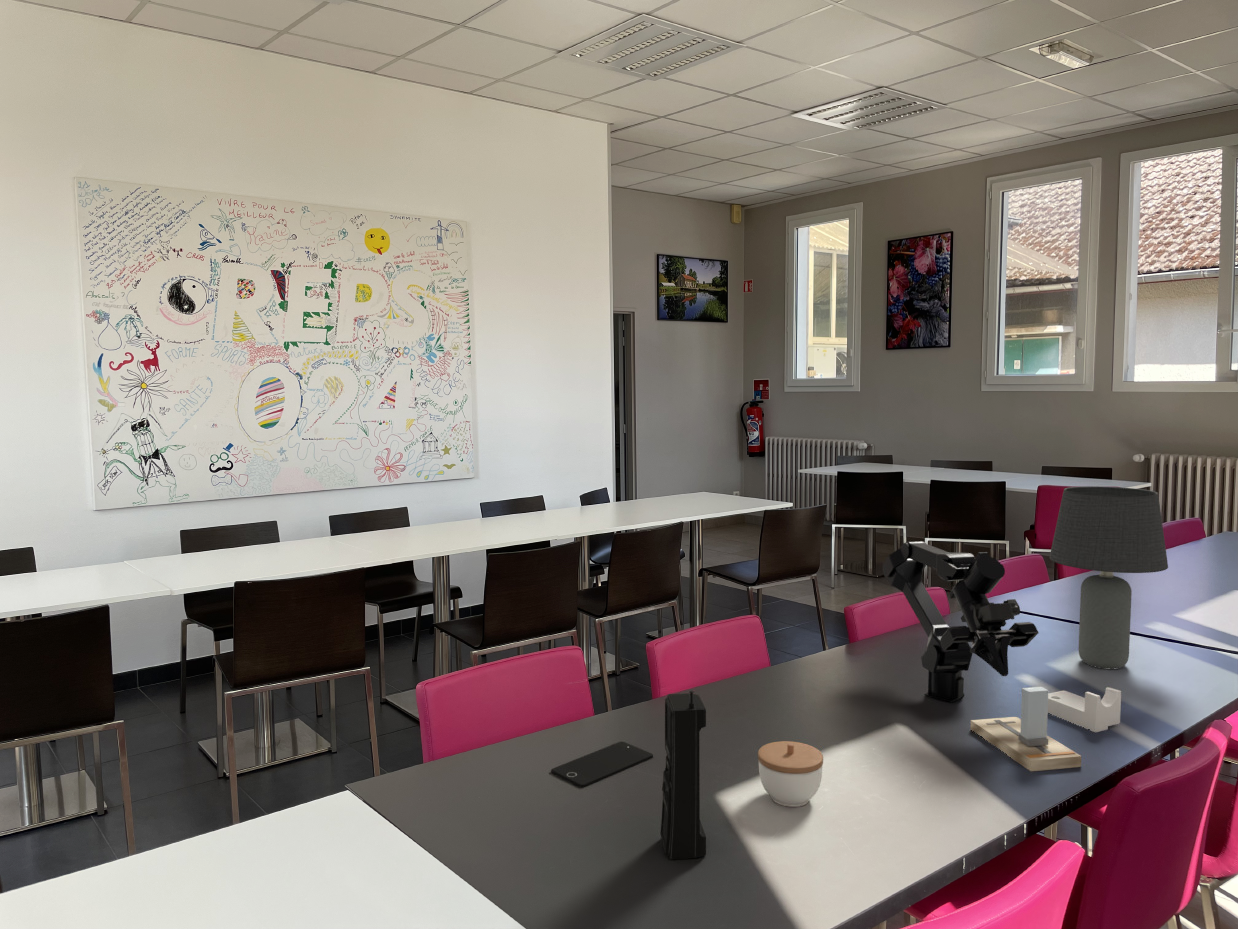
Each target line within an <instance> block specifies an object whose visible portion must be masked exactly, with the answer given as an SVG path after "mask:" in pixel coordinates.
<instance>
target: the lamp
mask: <svg viewBox="0 0 1238 929" xmlns="http://www.w3.org/2000/svg"><path fill="white" fill-rule="evenodd" d="M1159 497H1160V496H1159V492H1157V491H1154V490H1149V489H1143V488H1142V489H1141V488H1134V487H1119V486H1118V487H1117V486H1099V485H1097V486H1096V485H1095V486H1090V485H1089V486H1087V485H1086V486H1070V487H1066V488H1064V489H1063V492H1062V497H1061V501H1060V506H1059V511H1058V514H1057V515H1058V516H1057V520H1056V526H1055V530H1054V535H1053V539H1052V544H1051V549H1050V553H1049V559H1050V561H1051V562H1053V563H1055V564H1058V565H1061V566H1062V565H1063V566H1065V567H1070V568H1075V569H1080V570H1087V571H1088V570H1089V571H1096V572H1099V574H1093V575H1088V576H1087V577H1086V578H1084V579H1083V581H1082V582H1081V586H1080V596H1079V597H1080V601H1079V622H1078V623H1079V625H1078V627H1079V629H1078V654H1079V658H1080V659H1081V660H1082V661H1083V663H1085V664H1086V663H1087V664H1086V665H1088V664H1089V665H1088V666H1090V665H1092V666H1091V667H1093V666H1096V667H1095V668H1097V667H1100V668H1099V669H1103V668H1110V669H1109V670H1115V669H1114V668H1118V669H1121V668H1123V667H1124V666H1125V665H1126V664H1127V663H1128V661H1129V657H1130V638H1131V618H1132V617H1131V616H1132V615H1131V614H1132V613H1131V612H1132V595H1133V593H1132V587H1131V584H1130V583H1129V582H1128V581H1127V580H1125V579H1123V578H1122V577H1119V576H1115V575H1114V573H1119V574H1120V573H1121V574H1122V573H1123V574H1145V573H1146V574H1149V573H1151V574H1152V573H1157V572H1163V571H1166V570H1167V569H1168V568H1169V564H1168V557H1167V556H1168V555H1167V549H1166V543H1165V542H1166V540H1165V535H1164V533H1165V532H1164V528H1163V520H1162V512H1161V505H1160V498H1159Z"/></svg>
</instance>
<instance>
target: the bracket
mask: <svg viewBox="0 0 1238 929" xmlns="http://www.w3.org/2000/svg"><path fill="white" fill-rule="evenodd" d="M1121 704H1122V691H1121V690H1120V689H1115V688H1113V687H1110V686H1109V687H1106V688H1105V692H1104V695H1103V697H1102V698H1101V695H1099V694H1095V693H1093V692H1090V691H1086V692H1085V693H1084V696H1081V695H1078V694H1075V693H1072V692H1070V691H1067V690H1058V691H1054V692H1050V693H1049V692H1048V713H1050V714H1052V715H1051V716H1053V715H1055V716H1057V717H1056V718H1058V717H1059V718H1058V719H1060V718H1062V719H1061V720H1063V719H1064V720H1063V721H1065V720H1067V721H1066V722H1068V721H1069V722H1068V723H1070V722H1071V724H1073V723H1074V724H1073V725H1075V724H1076V725H1075V726H1078V725H1079V727H1080V726H1082V727H1081V728H1083V727H1084V728H1083V729H1085V730H1088V729H1090V730H1089V731H1091V732H1093V733H1099V732H1102V731H1107V730H1108V729H1109V727H1111V726H1114V725H1118V724H1121V709H1122V708H1121V707H1122V705H1121ZM1050 714H1049V715H1050ZM1055 716H1054V717H1055Z"/></svg>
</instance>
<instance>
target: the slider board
mask: <svg viewBox="0 0 1238 929" xmlns="http://www.w3.org/2000/svg"><path fill="white" fill-rule="evenodd" d="M971 730H972V731H971ZM970 731H971V732H973V731H974V732H976V733H977V734H978V735H980V736H982V737H983V738H984V739H985V741H986V740H987V741H988V742H987V741H986V742H987V743H989V742H990V743H991V744H990V743H989V744H990V745H992V744H993V745H994V746H996V747H997V748H999V749H1000V750H1001V752H1002V751H1003V752H1004V753H1003V752H1002V753H1003V754H1005V753H1006V754H1007V755H1006V754H1005V755H1006V756H1007V757H1009V758H1010V757H1011V759H1012V760H1013V761H1015V762H1016V763H1017V764H1019V765H1021V766H1022V767H1024V768H1025V769H1027V770H1028V771H1029V772H1039V771H1041V772H1042V771H1051V770H1060V769H1061V770H1063V769H1071V768H1081V767H1082V755H1080V754H1079V753H1077V752H1076V751H1074V750H1072V749H1071V748H1069V747H1067V746H1066V745H1064V744H1062V743H1061V742H1059V741H1057V740H1056V739H1054V738H1052V737H1051V736H1049V735H1047V738H1048V745H1040V746H1027V745H1026V744H1024V743H1022V742H1021V741H1019V734H1020V732H1021V718H1019V717H1017V716H1007V717H996V718H995V717H994V718H982V719H970ZM974 732H973V733H974ZM976 733H975V734H976ZM977 734H976V735H977ZM978 735H977V736H978ZM980 736H979V737H980ZM983 738H982V739H983ZM984 739H983V740H984ZM993 745H992V746H993ZM994 746H993V747H994ZM996 747H995V748H996ZM997 748H996V749H997ZM999 749H998V750H999ZM1000 750H999V751H1000Z"/></svg>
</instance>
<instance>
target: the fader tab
mask: <svg viewBox="0 0 1238 929" xmlns="http://www.w3.org/2000/svg"><path fill="white" fill-rule="evenodd" d="M1048 694H1049V690H1048V689H1046V688H1044V687H1043V686H1031V687H1021V700H1020V702H1021V708H1020V719H1021V732H1020V734H1019V741H1021V742H1022V743H1024V744H1026V745H1027V746H1040V745H1048V738H1047V736H1048V715H1049V714H1048Z"/></svg>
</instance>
